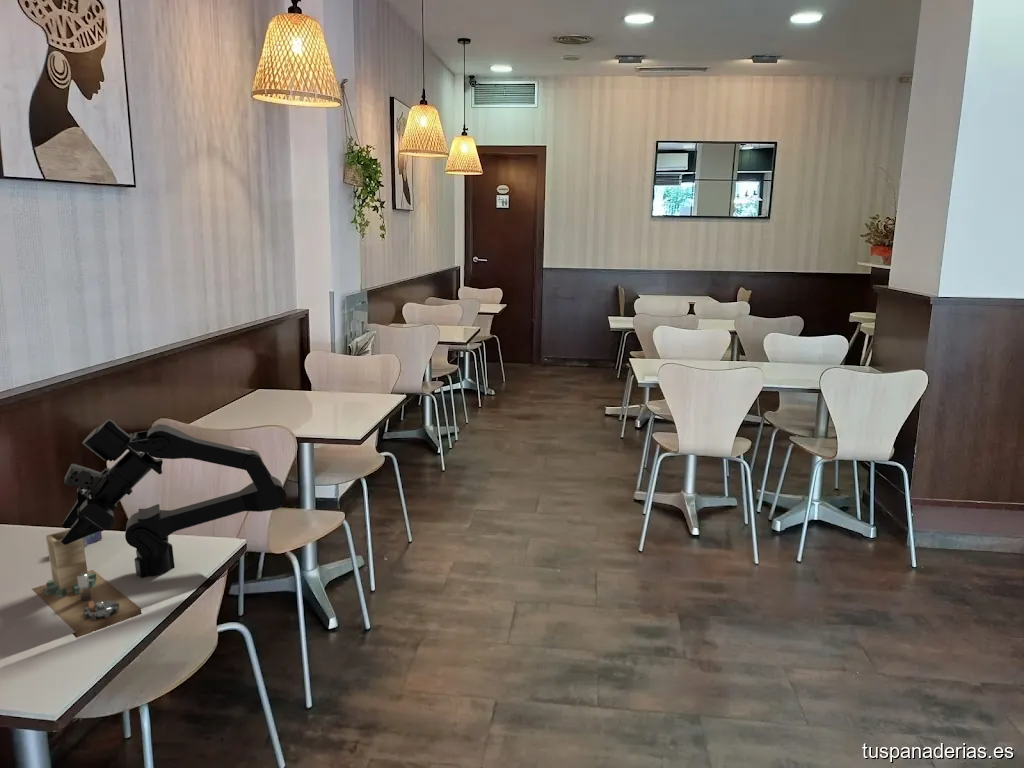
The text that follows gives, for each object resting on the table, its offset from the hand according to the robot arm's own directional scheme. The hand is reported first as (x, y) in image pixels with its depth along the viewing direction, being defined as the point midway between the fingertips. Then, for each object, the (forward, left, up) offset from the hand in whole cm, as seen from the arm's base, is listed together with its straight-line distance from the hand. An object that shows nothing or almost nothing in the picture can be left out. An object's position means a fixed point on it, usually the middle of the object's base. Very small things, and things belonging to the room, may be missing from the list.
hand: (63, 534), depth 150 cm
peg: (0, +7, -11) cm, 14 cm away
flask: (-11, -23, -13) cm, 28 cm away
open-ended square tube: (0, -1, -11) cm, 11 cm away
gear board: (0, +7, -13) cm, 14 cm away
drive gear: (0, +16, -11) cm, 19 cm away
